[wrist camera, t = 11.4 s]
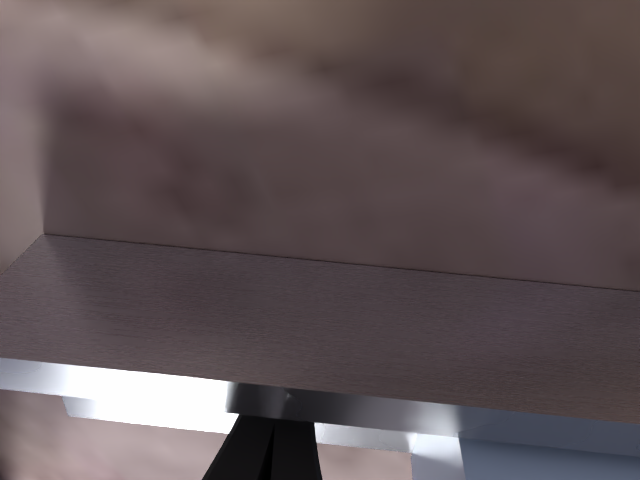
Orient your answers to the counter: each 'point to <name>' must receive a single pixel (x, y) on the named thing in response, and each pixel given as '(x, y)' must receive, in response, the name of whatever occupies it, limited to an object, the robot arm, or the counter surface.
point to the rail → (320, 347)
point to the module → (513, 461)
